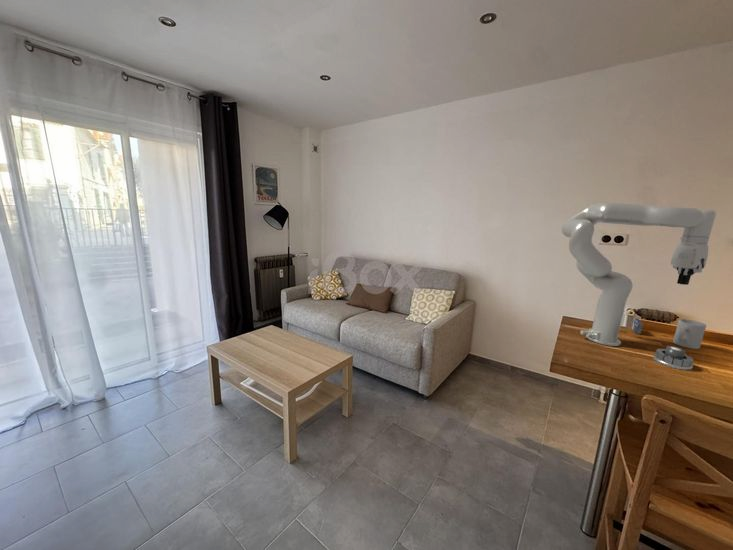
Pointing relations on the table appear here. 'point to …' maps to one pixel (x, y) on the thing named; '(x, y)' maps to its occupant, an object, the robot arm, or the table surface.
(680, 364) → the grey notched ring
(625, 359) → the table surface
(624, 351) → the table surface
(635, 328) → the mini dv tape
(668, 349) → the cap
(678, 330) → the mug
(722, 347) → the table surface
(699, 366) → the table surface
